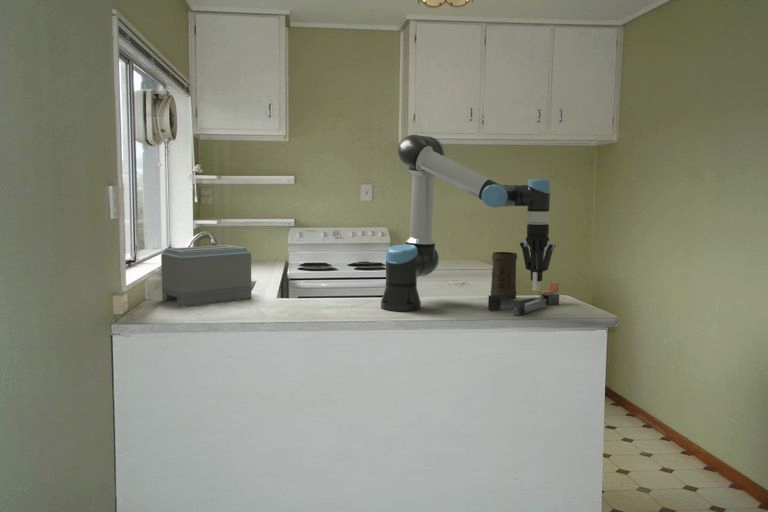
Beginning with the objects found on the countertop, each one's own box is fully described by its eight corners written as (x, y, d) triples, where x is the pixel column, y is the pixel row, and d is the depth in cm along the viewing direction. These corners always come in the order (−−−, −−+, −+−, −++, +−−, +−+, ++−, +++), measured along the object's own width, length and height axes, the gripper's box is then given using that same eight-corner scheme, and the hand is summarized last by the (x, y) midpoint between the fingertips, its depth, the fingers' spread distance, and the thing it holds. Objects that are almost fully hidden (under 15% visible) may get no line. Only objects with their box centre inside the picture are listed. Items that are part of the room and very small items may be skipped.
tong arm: (540, 305, 246) (541, 292, 245) (546, 306, 244) (546, 292, 244) (513, 314, 227) (514, 300, 227) (519, 315, 226) (520, 301, 225)
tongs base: (549, 302, 254) (549, 288, 253) (558, 304, 250) (559, 290, 249) (488, 309, 237) (488, 295, 236) (497, 312, 232) (497, 297, 232)
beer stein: (516, 303, 249) (518, 253, 248) (489, 302, 251) (491, 252, 250) (516, 299, 264) (518, 251, 263) (490, 298, 266) (492, 251, 265)
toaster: (260, 297, 255) (260, 247, 253) (182, 307, 233) (180, 252, 231) (237, 291, 269) (236, 243, 267) (161, 300, 247) (159, 248, 244)
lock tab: (552, 291, 252) (552, 281, 252) (558, 292, 250) (558, 282, 249) (537, 293, 248) (538, 283, 248) (543, 294, 245) (544, 284, 245)
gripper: (560, 223, 219) (558, 290, 222) (526, 222, 228) (525, 287, 230) (549, 224, 214) (547, 293, 216) (516, 223, 222) (514, 289, 225)
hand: (536, 290), depth 223 cm, fingers closed
